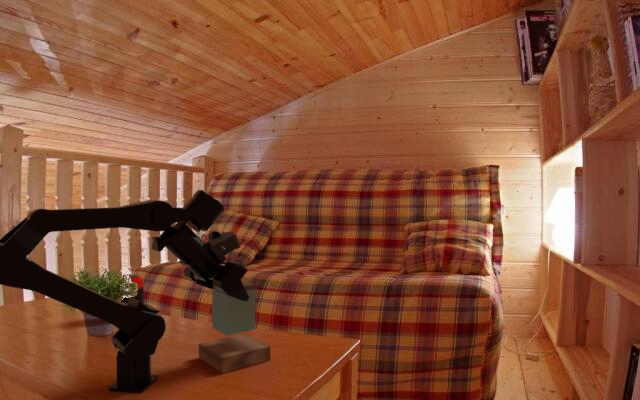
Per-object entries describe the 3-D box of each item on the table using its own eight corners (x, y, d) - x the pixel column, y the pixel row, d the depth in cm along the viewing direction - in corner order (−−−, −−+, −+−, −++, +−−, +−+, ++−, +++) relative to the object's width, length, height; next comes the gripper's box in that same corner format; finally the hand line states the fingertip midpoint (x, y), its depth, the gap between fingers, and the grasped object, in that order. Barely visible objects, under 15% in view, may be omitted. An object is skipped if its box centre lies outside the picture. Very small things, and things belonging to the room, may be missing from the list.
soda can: (127, 323, 125) (127, 279, 125) (108, 320, 128) (108, 277, 128) (149, 316, 132) (149, 274, 131) (130, 313, 135) (130, 272, 135)
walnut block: (222, 373, 90) (222, 358, 90) (198, 357, 98) (198, 343, 98) (270, 360, 97) (270, 346, 97) (244, 346, 105) (244, 333, 105)
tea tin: (226, 335, 93) (226, 288, 93) (212, 328, 98) (212, 283, 98) (255, 329, 97) (255, 284, 97) (240, 322, 102) (239, 280, 102)
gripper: (238, 221, 87) (286, 273, 94) (197, 217, 102) (241, 262, 109) (199, 266, 82) (253, 317, 89) (162, 256, 97) (210, 300, 104)
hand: (239, 296), depth 98 cm, fingers closed on tea tin, 7 cm apart
